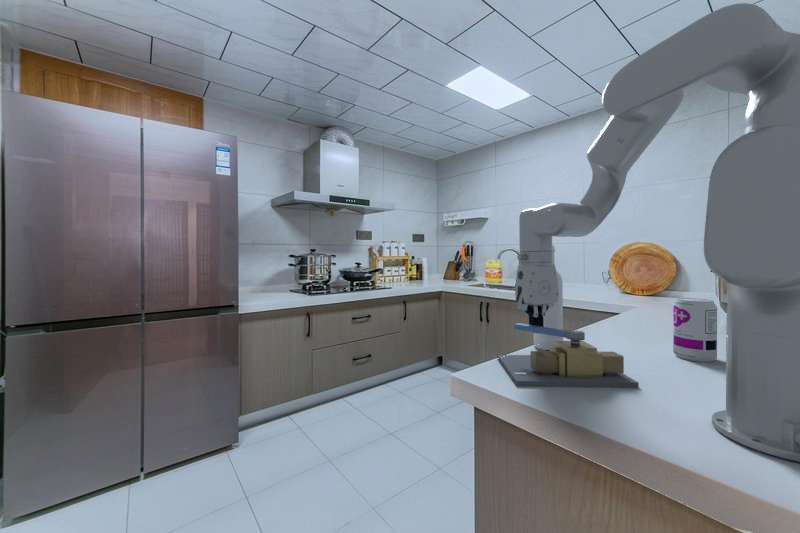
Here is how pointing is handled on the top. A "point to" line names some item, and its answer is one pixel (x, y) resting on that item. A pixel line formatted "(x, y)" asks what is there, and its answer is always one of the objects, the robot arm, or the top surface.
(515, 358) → the base plate
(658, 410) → the top surface
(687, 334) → the supplement can
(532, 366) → the valve
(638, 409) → the top surface
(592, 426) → the top surface
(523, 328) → the lever
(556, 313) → the bottle
